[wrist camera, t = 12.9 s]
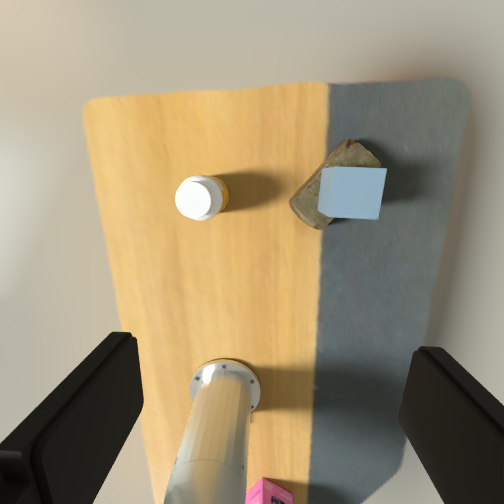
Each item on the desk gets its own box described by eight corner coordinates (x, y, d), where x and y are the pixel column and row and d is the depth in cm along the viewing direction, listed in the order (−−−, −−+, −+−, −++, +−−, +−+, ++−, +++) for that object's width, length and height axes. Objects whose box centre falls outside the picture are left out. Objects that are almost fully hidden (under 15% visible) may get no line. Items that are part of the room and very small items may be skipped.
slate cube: (357, 212, 32) (378, 219, 26) (317, 210, 32) (329, 217, 27) (363, 170, 31) (386, 168, 25) (322, 168, 31) (335, 166, 25)
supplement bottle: (211, 221, 38) (195, 235, 29) (184, 195, 37) (158, 200, 28) (237, 195, 37) (228, 200, 28) (209, 167, 36) (190, 163, 27)
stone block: (371, 167, 35) (388, 165, 30) (313, 230, 38) (320, 237, 33) (340, 138, 34) (353, 132, 30) (284, 204, 37) (286, 208, 32)
